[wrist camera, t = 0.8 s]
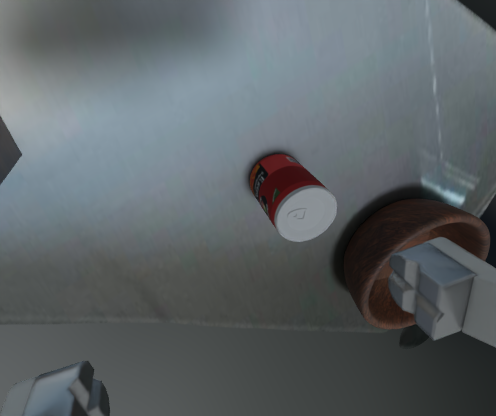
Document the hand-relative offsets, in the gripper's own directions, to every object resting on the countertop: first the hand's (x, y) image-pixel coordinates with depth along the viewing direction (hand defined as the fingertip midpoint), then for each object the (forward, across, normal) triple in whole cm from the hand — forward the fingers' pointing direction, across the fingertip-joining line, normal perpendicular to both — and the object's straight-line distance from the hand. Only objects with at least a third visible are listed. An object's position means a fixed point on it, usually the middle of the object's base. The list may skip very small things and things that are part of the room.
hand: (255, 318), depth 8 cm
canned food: (+36, -12, +12) cm, 40 cm away
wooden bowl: (+38, -34, +34) cm, 61 cm away
